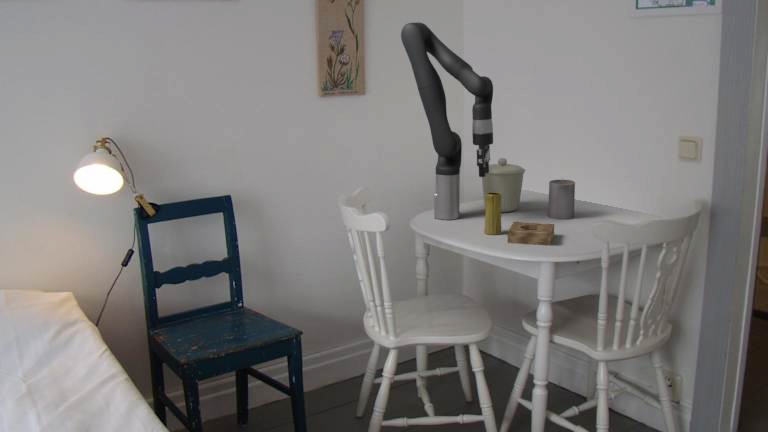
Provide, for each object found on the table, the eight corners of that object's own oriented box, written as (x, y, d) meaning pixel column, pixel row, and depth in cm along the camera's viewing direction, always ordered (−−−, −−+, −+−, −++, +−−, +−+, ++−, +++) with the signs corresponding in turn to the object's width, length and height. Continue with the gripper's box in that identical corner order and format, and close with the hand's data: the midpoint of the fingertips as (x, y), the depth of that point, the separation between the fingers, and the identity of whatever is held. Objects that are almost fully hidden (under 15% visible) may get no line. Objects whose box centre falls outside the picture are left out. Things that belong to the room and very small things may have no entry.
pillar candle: (555, 212, 291) (556, 175, 287) (578, 215, 285) (579, 177, 281) (543, 217, 284) (544, 179, 280) (567, 220, 277) (568, 181, 274)
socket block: (507, 242, 247) (507, 231, 247) (513, 232, 260) (513, 221, 260) (550, 245, 243) (550, 233, 242) (553, 235, 256) (554, 224, 255)
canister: (533, 209, 297) (534, 157, 293) (505, 216, 285) (506, 162, 281) (497, 203, 310) (498, 153, 306) (469, 210, 298) (470, 158, 294)
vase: (501, 235, 257) (501, 195, 254) (483, 234, 258) (484, 194, 255) (501, 231, 263) (502, 192, 260) (484, 230, 264) (485, 191, 261)
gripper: (476, 129, 279) (477, 172, 283) (468, 134, 266) (470, 178, 269) (495, 129, 277) (497, 171, 280) (489, 133, 264) (491, 178, 267)
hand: (484, 174), depth 275 cm, fingers open, 8 cm apart
